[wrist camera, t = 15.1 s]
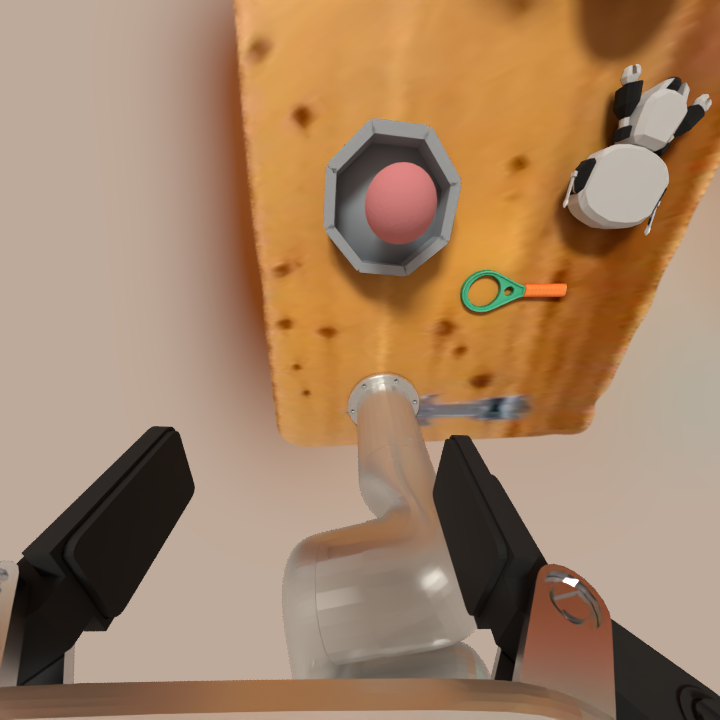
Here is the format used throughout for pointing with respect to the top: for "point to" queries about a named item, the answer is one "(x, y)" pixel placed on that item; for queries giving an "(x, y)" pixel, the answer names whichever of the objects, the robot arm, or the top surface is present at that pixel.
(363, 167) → the ceramic bowl
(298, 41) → the top surface
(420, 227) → the light bulb
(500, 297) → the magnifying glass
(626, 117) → the robot toy
